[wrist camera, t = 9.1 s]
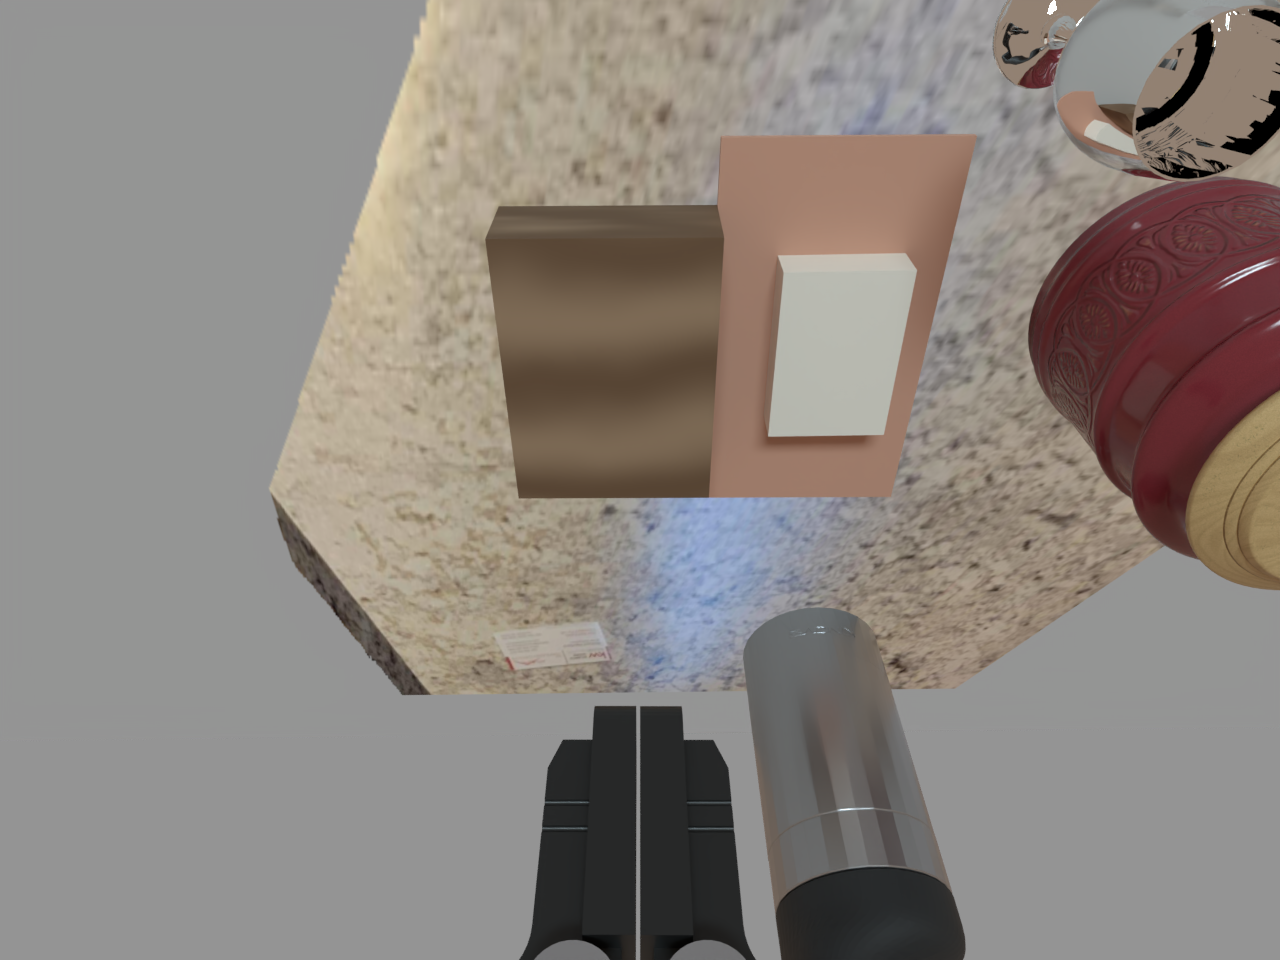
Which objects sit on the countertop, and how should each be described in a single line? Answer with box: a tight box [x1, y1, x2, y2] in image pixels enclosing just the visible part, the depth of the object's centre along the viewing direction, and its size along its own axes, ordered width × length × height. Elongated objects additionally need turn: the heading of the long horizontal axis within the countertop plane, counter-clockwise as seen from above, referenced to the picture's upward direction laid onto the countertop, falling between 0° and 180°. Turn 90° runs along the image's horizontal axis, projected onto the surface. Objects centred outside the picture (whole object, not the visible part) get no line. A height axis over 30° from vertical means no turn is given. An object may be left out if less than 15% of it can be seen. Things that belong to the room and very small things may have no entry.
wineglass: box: [992, 0, 1280, 182], centre depth 27 cm, size 6×6×12 cm
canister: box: [1028, 176, 1280, 590], centre depth 32 cm, size 13×13×18 cm
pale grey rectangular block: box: [764, 253, 917, 437], centre depth 40 cm, size 9×6×2 cm, turn 1°
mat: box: [709, 134, 977, 498], centre depth 41 cm, size 20×11×1 cm, turn 0°
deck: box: [485, 205, 724, 499], centre depth 39 cm, size 14×10×4 cm
